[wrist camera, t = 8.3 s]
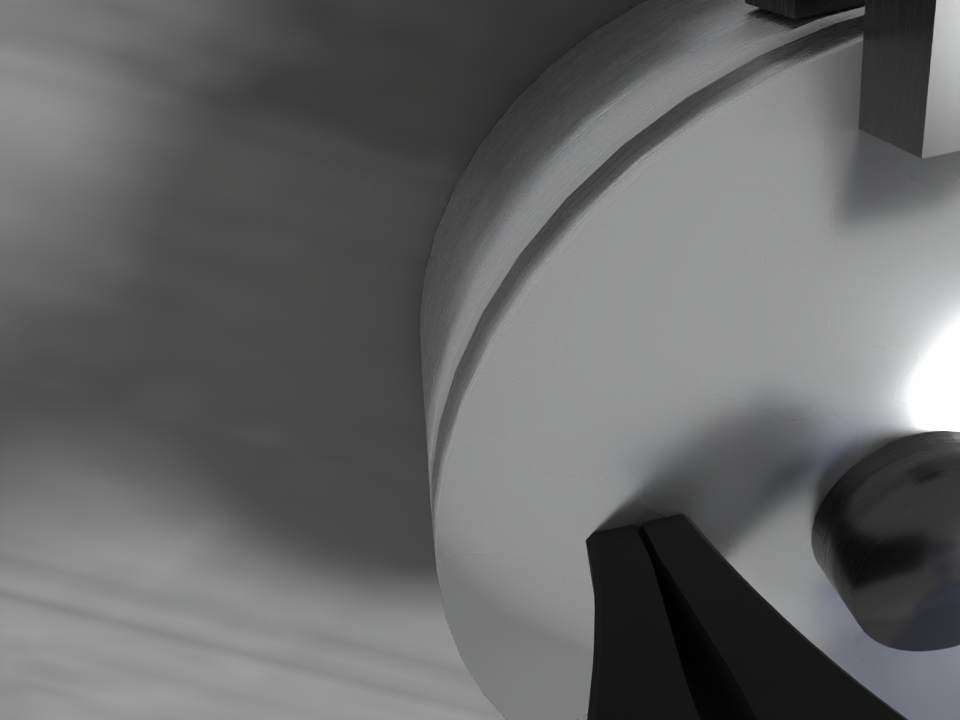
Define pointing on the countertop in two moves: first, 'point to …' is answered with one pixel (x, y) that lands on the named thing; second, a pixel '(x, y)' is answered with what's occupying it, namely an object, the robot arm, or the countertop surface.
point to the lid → (732, 373)
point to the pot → (580, 147)
